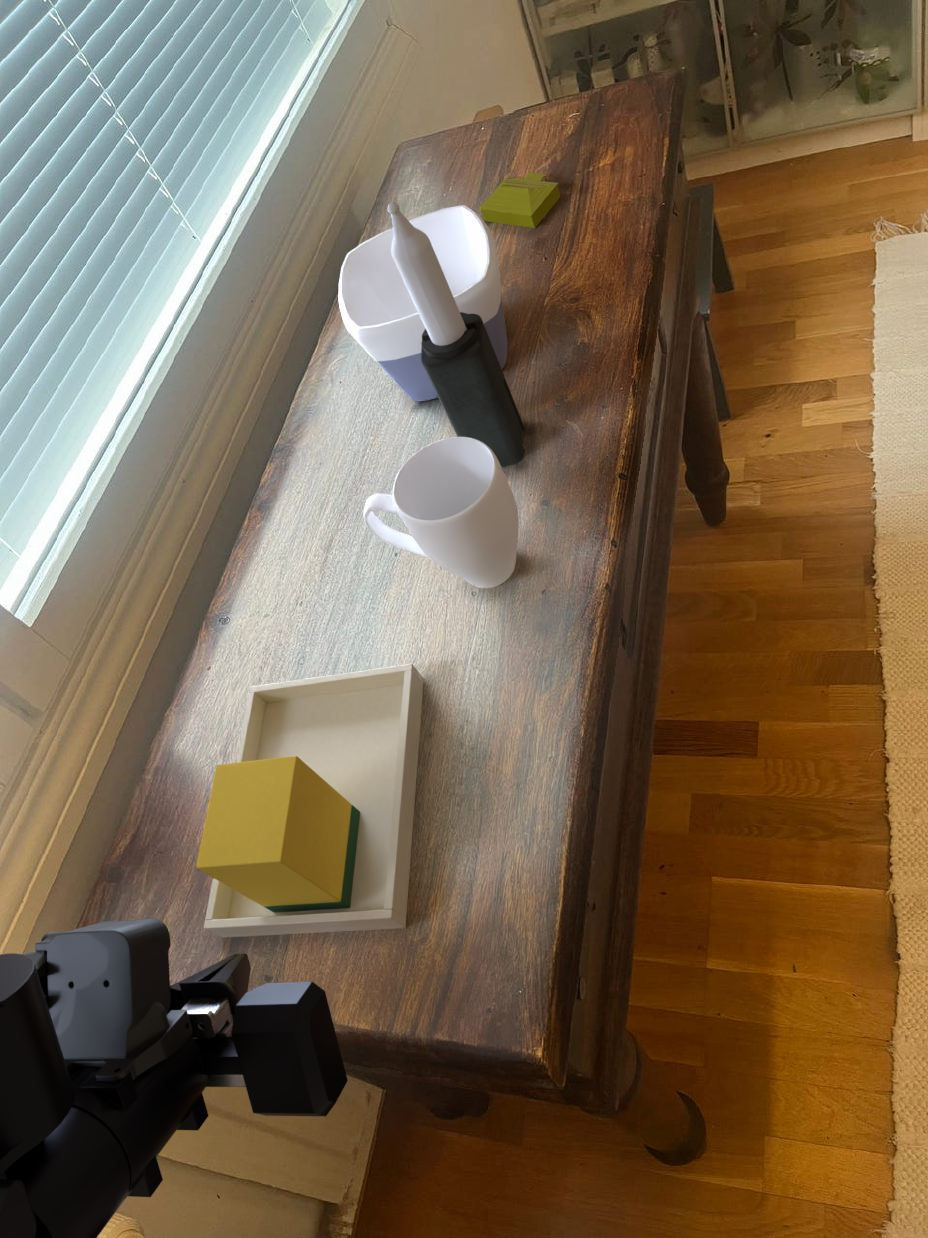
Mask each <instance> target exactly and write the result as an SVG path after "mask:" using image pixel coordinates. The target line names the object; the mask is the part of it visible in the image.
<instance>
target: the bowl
mask: <svg viewBox="0 0 928 1238" xmlns="http://www.w3.org/2000/svg"><path fill="white" fill-rule="evenodd" d="M408 221H409V222H410V223H411V224H412V225H413V227H415V228H417V229H419V230H420V231H422V232H424V233H425V234H426V235H427V236H428V238H429V240H430V242H431V245H432V247H433V249H434V252H435V254H436V256H437V259H438V261H439V264H440V266H441V268H442V271H443V273H444V276H445V278H446V280H447V283H448V285H449V288H450V290H451V292H452V295H453V297H454V300H455V302H456V304H457V307H458V309H459V312H463V313H467V314H477V315H479V316H480V317H481V318H482V321H483V323H484V326H485V328H486V331H487V334H488V336H489V339H490V341H491V344H492V346H493V349H494V351H495V354H496V356H497V359H498V361H499V364H500V366H501V369H502V370H503V368H505V366H506V364H507V360H508V336H507V328H506V320H505V319H506V318H505V311H504V300H503V294H502V282H501V273H500V263H499V256H498V251H497V244H496V240H495V238H494V236H493V234H492V231H491V229H490V228H489V226H488V225H487V223H486V221H485V220H484V218H483V217H481V216H480V215H479V214H478V213H477V212H475V211H473V209H471V208H469V207H468V206H467V205H464V204H461V205H460V204H459V205H455V206H450V207H449V206H448V207H444V208H441V209H437V210H434V211H431V212H428V213H424V214H422V215H419V216H417V217H414V218H412V219H408ZM393 238H394V234H393V226H392V227H390V228H388V229H386V230H383V231H382V232H380V233H378V234H377V235H374V236H371V238H368V239H367V240H364V241H363V242H361V243H360V244H359V245H357V246H355V247H354V248H353V249H350V251H349V252H347V253H346V255H345V258H344V260H343V262H342V265H341V268H340V273H339V281H338V305H339V310H340V314H341V318H342V321H343V324H344V326H345V328H346V330H347V331H348V333H349V334H350V335H351V337H353V339H355V340H356V342H357V343H358V344H359V345H360V346H361V347H362V348H363V349H364V350H365V352H366V353H367V354H368V355H369V356H370V357H371V358H372V359H373V360H374V361H375V362H376V363H377V364H378V365H379V367H381V369H383V370H384V371H385V373H386V374H387V375H388V376H389V377H390V378H391V379H392V380H393V381H394V382H395V383H396V384H397V385H398V387H399V388H400V389H401V390H402V391H403V392H404V393H405V394H406V395H407V397H408V398H410V399H411V400H412V401H414V402H425V401H430V400H435V399H437V398H438V396H437V394H436V392H435V390H434V388H433V385H432V383H431V381H430V379H429V377H428V375H427V373H426V371H425V369H424V367H423V365H422V363H421V347H422V344H421V342H422V334H423V332H424V330H425V329H426V328H425V326H424V324H423V322H422V319H421V317H420V315H419V313H418V311H417V309H416V306H415V304H414V302H413V300H412V298H411V296H410V293H409V291H408V289H407V287H406V285H405V283H404V280H403V278H402V276H401V274H400V272H399V270H398V267H397V265H396V263H395V261H394V259H393V257H392V253H391V247H392V242H393ZM438 399H439V398H438Z"/></svg>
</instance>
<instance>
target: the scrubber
mask: <svg viewBox="0 0 928 1238" xmlns="http://www.w3.org/2000/svg"><path fill="white" fill-rule="evenodd" d="M359 820H360V811H359V810H357V809H356V808H355V807H354V806H353V805H351V803H350V802H348V801H347V800H346V799H345V798H344V797H343V796H342V795H341V794H339V793H338V792H337V791H336V790H335V789H334V788H333V787H331V786H330V785H329V784H328V783H327V782H326V781H325V780H324V779H322V778H321V777H320V776H319V775H318V774H317V773H316V772H315V771H313V770H312V769H311V768H310V767H309V766H308V765H307V764H305V763H304V762H303V761H302V760H301V759H300V758H299V757H298V756H290V757H281V758H273V759H264V760H255V761H247V762H238V763H235V762H230V763H223V764H216V766H215V772H214V777H213V781H212V786H211V791H210V797H209V801H208V806H207V811H206V817H205V821H204V824H203V825H204V826H203V831H202V834H201V835H202V836H201V842H200V846H199V850H198V856H197V859H196V865H195V868H196V869H197V870H198V871H200V872H202V873H204V874H206V875H207V876H209V877H211V878H212V879H213V878H214V879H216V880H218V881H220V882H221V883H223V884H225V885H227V886H228V887H230V888H232V889H233V890H235V891H237V892H239V893H240V894H242V895H244V896H246V897H247V898H249V899H251V900H253V901H254V902H256V903H258V904H260V905H261V906H263V907H265V908H267V909H268V910H270V911H272V912H274V913H276V912H293V911H310V910H326V909H343V908H350V904H351V895H352V885H353V876H354V867H355V857H356V848H357V838H358V829H359Z"/></svg>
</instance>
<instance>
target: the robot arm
mask: <svg viewBox="0 0 928 1238" xmlns="http://www.w3.org/2000/svg"><path fill="white" fill-rule="evenodd" d="M40 940H41V941H38V942H36V943H34V945H35V947H34V948H35V950H33V951H29V952H27V953H23V954H21V953H15V952H12V953H11V952H10V953H2V954H0V1238H98V1237H99V1235H100V1234H101V1233H102V1231H103V1230H104V1229H105V1227H106V1226H107V1224H109V1222H110V1221H111V1219H112V1218H113V1217H114V1215H115V1214H116V1212H117V1211H118V1210H119V1208H121V1206H122V1205H123V1203H124V1202H125V1200H126V1199H127V1198H128V1197H132V1198H133V1197H134V1198H135V1197H136V1198H137V1197H138V1198H152V1196H153V1195H154V1193H155V1192H156V1191H157V1189H158V1188H159V1187H160V1185H161V1184H162V1182H163V1181H164V1179H163V1175H162V1172H161V1168H160V1165H159V1162H158V1159H157V1157H158V1156H159V1155H160V1153H161V1152H162V1150H163V1149H164V1148H165V1146H166V1145H167V1144H168V1142H169V1141H170V1140H171V1138H172V1137H173V1136H174V1135H175V1133H176V1132H177V1131H199V1130H200V1129H201V1127H203V1124H204V1123H205V1122H206V1120H207V1119H208V1117H210V1115H209V1112H208V1109H207V1105H206V1102H205V1098H204V1095H203V1092H204V1091H205V1089H206V1088H245V1089H246V1092H247V1097H248V1100H249V1102H250V1104H249V1105H250V1107H251V1111H252V1114H256V1115H259V1116H260V1115H262V1116H266V1117H327V1116H328V1114H329V1113H330V1112H331V1110H332V1109H333V1108H334V1106H335V1105H336V1103H337V1102H338V1101H339V1098H340V1096H341V1094H342V1092H343V1090H344V1089H345V1087H346V1085H347V1083H348V1082H349V1079H348V1076H347V1072H346V1068H345V1064H344V1060H343V1056H342V1052H341V1049H340V1045H339V1040H338V1035H337V1033H336V1029H335V1024H334V1021H333V1017H332V1013H331V1009H330V1005H329V1001H328V997H327V993H326V990H324V989H323V988H322V987H321V986H319V985H318V984H317V983H315V982H314V981H313V980H311V981H307V980H306V981H287V982H286V981H283V982H280V981H279V982H278V981H277V982H266V983H264V984H261V985H259V986H257V987H254V988H253V989H250V990H249V985H250V978H251V970H252V966H251V963H250V958H249V955H248V953H246V952H243V953H242V952H241V953H232V954H231V955H229V956H227V957H225V958H224V959H221V960H219V961H218V962H215V963H214V964H213V963H212V965H209V966H208V967H206V968H204V969H202V970H199V971H198V972H196V973H194V974H192V975H190V976H188V977H186V978H184V979H182V980H179V981H178V982H175V983H173V984H171V979H170V977H171V976H170V960H169V959H170V957H169V951H170V948H171V935H170V931H169V929H168V927H167V925H166V924H165V923H164V921H162V920H161V919H158V918H141V919H131V920H130V919H129V920H105V921H101V922H96V923H93V924H90V925H86V926H82V927H78V928H75V929H72V930H68V931H53V932H46V933H45V934H43V936H42V938H41V939H40Z"/></svg>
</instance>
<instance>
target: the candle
mask: <svg viewBox="0 0 928 1238" xmlns="http://www.w3.org/2000/svg"><path fill="white" fill-rule="evenodd" d="M387 212H388V213H389V214H390V216H391V225H392V227H393V234H394V238H393V242H392V247H391V253H392V257H393V259H394V261H395V263H396V265H397V267H398V270H399V272H400V274H401V276H402V278H403V280H404V283H405V285H406V287H407V289H408V291H409V293H410V296H411V298H412V300H413V302H414V304H415V306H416V309H417V311H418V313H419V315H420V317H421V319H422V322H423V324H424V326H425V328H426V329H425V330H424V332H423V334H422V342H421V344H422V347H421V363H422V365H423V367H424V369H425V371H426V373H427V375H428V377H429V379H430V381H431V383H432V385H433V388H434V390H435V392H436V394H437V396H438V400H439V402H440V404H441V406H442V408H443V410H444V412H445V414H446V416H447V418H448V421H449V423H450V424H451V427H452V430H453V431H454V433H455V435H456V437H468V438H473V439H476V440H479V441H481V442H483V443H484V444H486V445H487V446H488V447H489V448H490V449H491V450H492V451H493V452H494V454H495V455H496V457H497V459H498V461H499V463H500V465H501V467H507V466H512V465H516V464H517V463H520V462H521V461H522V460H523V459H524V457H525V456H526V453H527V449H525V445H524V432H525V431H526V428H525V427H526V426H525V425H524V422H523V420H522V417H521V415H520V411H519V409H518V407H517V404H516V402H515V400H514V399H515V398H514V397H513V394H512V391H511V389H510V387H509V386H510V385H508V381H507V379H506V376H505V375H504V372H503V368H502V369H501V366H500V364H499V361H498V359H497V356H496V354H495V351H494V349H493V346H492V344H491V341H490V339H489V336H488V334H487V331H486V328H485V326H484V323H483V321H482V318H481V317H480V316H479V315H477V314H467V313H463V312H459V309H458V307H457V304H456V302H455V300H454V297H453V295H452V292H451V290H450V288H449V285H448V283H447V280H446V278H445V276H444V273H443V271H442V268H441V266H440V264H439V261H438V259H437V256H436V254H435V252H434V249H433V247H432V245H431V242H430V240H429V238H428V236H427V235H426V234H425V233H424V232H422V231H420V230H419V229H417V228H415V227H413V225H412V224H411V223H410V222H409V219H408V218H407V217H406V216H405V215H404V213H402V212H401V210H400V205H399V204H398V203H397V202H395V201H391V202H390V203H388V205H387Z"/></svg>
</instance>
